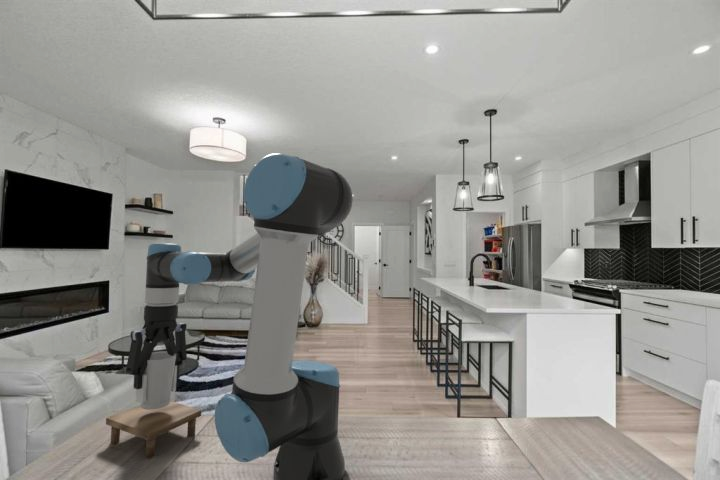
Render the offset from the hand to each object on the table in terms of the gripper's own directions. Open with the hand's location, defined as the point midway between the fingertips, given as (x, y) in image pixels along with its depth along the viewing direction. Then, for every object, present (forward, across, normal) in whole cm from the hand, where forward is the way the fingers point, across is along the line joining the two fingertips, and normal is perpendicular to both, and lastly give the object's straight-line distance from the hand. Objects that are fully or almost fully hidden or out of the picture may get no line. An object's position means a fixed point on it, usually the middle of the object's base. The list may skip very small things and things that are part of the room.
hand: (156, 395), depth 89 cm
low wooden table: (+11, 0, 0) cm, 11 cm away
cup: (+2, 0, 0) cm, 2 cm away
